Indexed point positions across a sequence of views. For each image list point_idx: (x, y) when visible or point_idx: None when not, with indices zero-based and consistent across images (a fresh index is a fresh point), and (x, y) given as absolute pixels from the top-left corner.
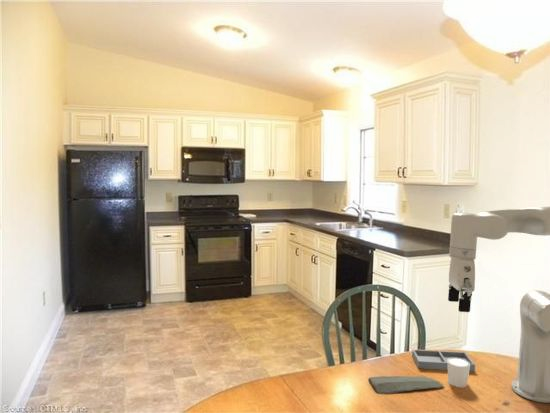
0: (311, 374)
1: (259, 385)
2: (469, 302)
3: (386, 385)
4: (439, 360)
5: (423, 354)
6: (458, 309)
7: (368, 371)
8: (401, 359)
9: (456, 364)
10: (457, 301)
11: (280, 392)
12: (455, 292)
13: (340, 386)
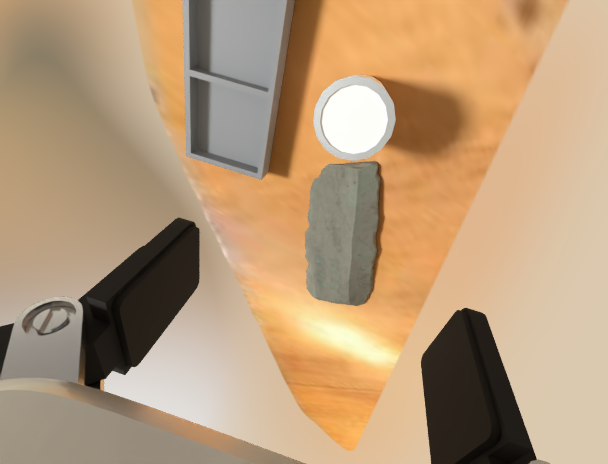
0: (285, 354)
1: (311, 406)
2: (507, 409)
3: (355, 290)
4: (233, 91)
5: (197, 122)
6: (424, 370)
7: (279, 278)
8: (220, 188)
9: (367, 139)
10: (198, 232)
11: (333, 397)
12: (143, 311)
13: (329, 338)
